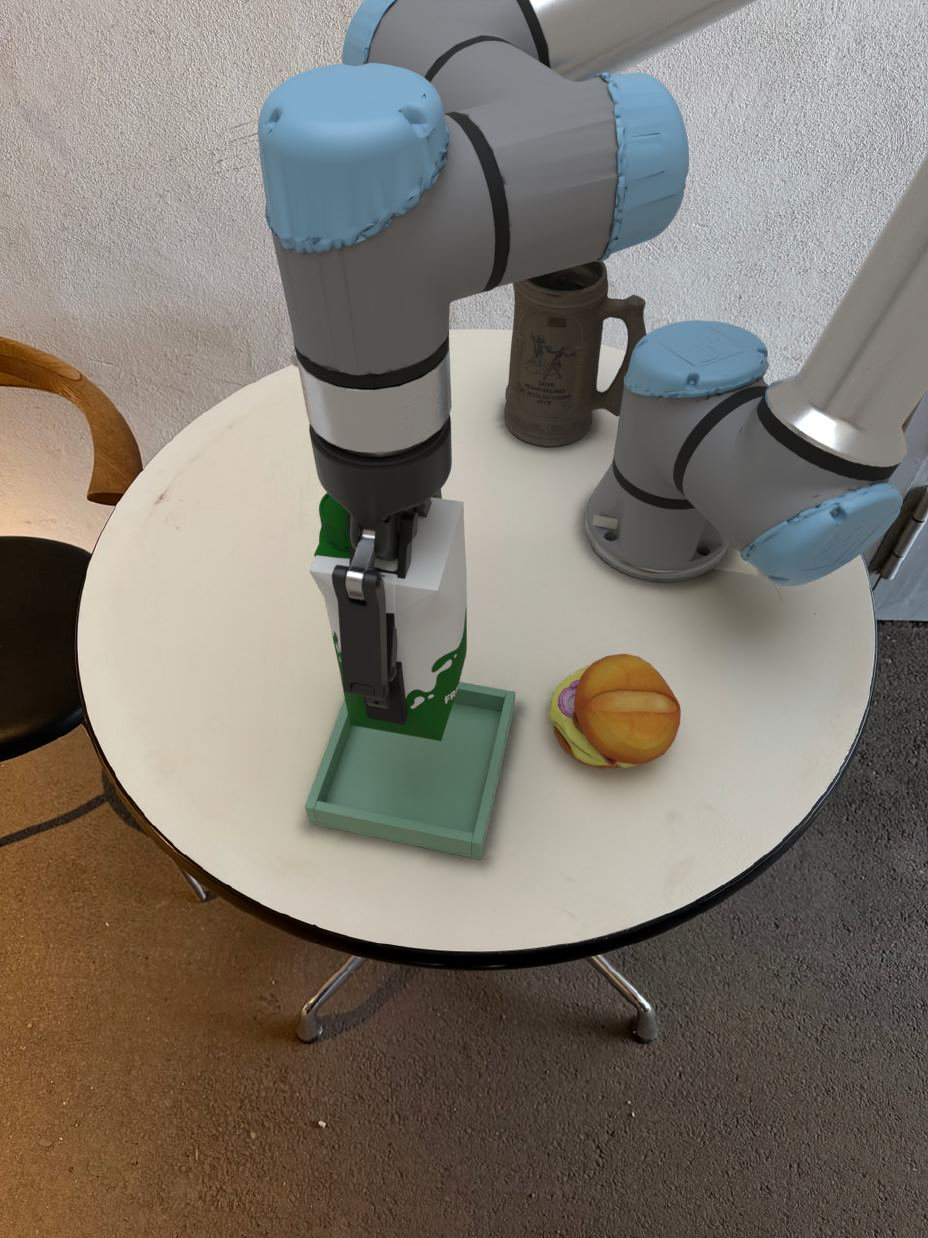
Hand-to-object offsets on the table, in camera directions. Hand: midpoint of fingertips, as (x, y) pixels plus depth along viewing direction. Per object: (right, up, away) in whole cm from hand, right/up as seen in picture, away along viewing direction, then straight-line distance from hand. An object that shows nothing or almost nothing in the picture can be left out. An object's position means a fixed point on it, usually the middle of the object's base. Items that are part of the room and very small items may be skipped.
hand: (405, 662), depth 63 cm
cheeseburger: (+17, -7, +14) cm, 24 cm away
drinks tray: (0, -9, +12) cm, 15 cm away
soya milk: (0, -3, +4) cm, 5 cm away
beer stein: (+17, +27, +41) cm, 52 cm away
